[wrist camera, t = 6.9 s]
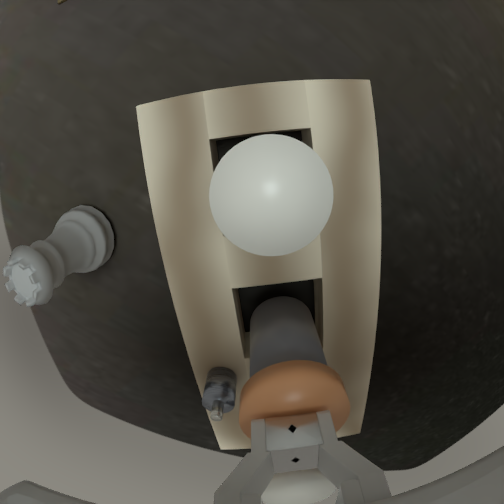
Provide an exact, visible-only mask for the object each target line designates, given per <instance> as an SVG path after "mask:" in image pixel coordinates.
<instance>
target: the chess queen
mask: <svg viewBox="0 0 504 504" xmlns="http://www.w3.org/2000/svg"><path fill="white" fill-rule="evenodd" d="M113 249H114V234H113V231H112V228H111V226H110V223H109V221H108V220H107V219H106V218H105V216H104V215H103V214H102V212H100V211H98V210H97V209H95V208H93V207H92V206H84V205H80V206H77V207H75V208H73V209H71V210H70V211H68V212H66V213H64V214H63V216H62V217H61V218H60V219H59V221H58V222H57V223H56V226H55V228H54V230H53V233H52V234H51V235H50V236H49V237H48V238H47V239H45V240H44V241H41V240H38V241H36V242H34V243H32V245H31V246H30V247H29V246H24V245H21V246H19V247H16V248H14V250H13V252H12V253H11V255H10V259H9V261H7V263H8V265H6V266H5V267H3V276H5V277H7V276H9V281H8V282H7V283H5V284H4V285H5V287H6V289H7V291H8V292H10V291H11V290H13V289H14V291H15V292H16V293H17V296H15V298H14V301H16V302H17V303H18V304H19V305H21V304H22V303H24V302H25V301H26V306H27V307H30V306H33V305H34V304H37V305H42V304H46V303H47V302H48V301H49V300H50V299H51V297H52V293H53V289H54V288H57V287H59V286H60V285H61V283H62V282H63V279H64V277H65V276H67V275H69V274H71V273H73V272H77V273H79V272H81V273H86V272H90V271H93V270H96V269H98V268H99V267H100V266H102V265H103V264H105V263H106V262H107V261H108V260H109V259H110V257H111V254H112V251H113Z"/></svg>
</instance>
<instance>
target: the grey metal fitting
mask: <svg viewBox="0 0 504 504" xmlns="http://www.w3.org/2000/svg"><path fill="white" fill-rule="evenodd" d="M236 385H237V376H236V374H235V372H234V371H232V370H231V369H229V368H226V367H215V368H212V369H211V370H209V371H208V373H207V378H206V383H205V387H204V392H203V397H202V404H203V406H204V407H205V408H206V409H207V410H209V411H211V415H210V418H211V420H213V421H221V420H222V417H223V413H228V412H230V411H231V410H233V408H234V406H235V397H236Z"/></svg>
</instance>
